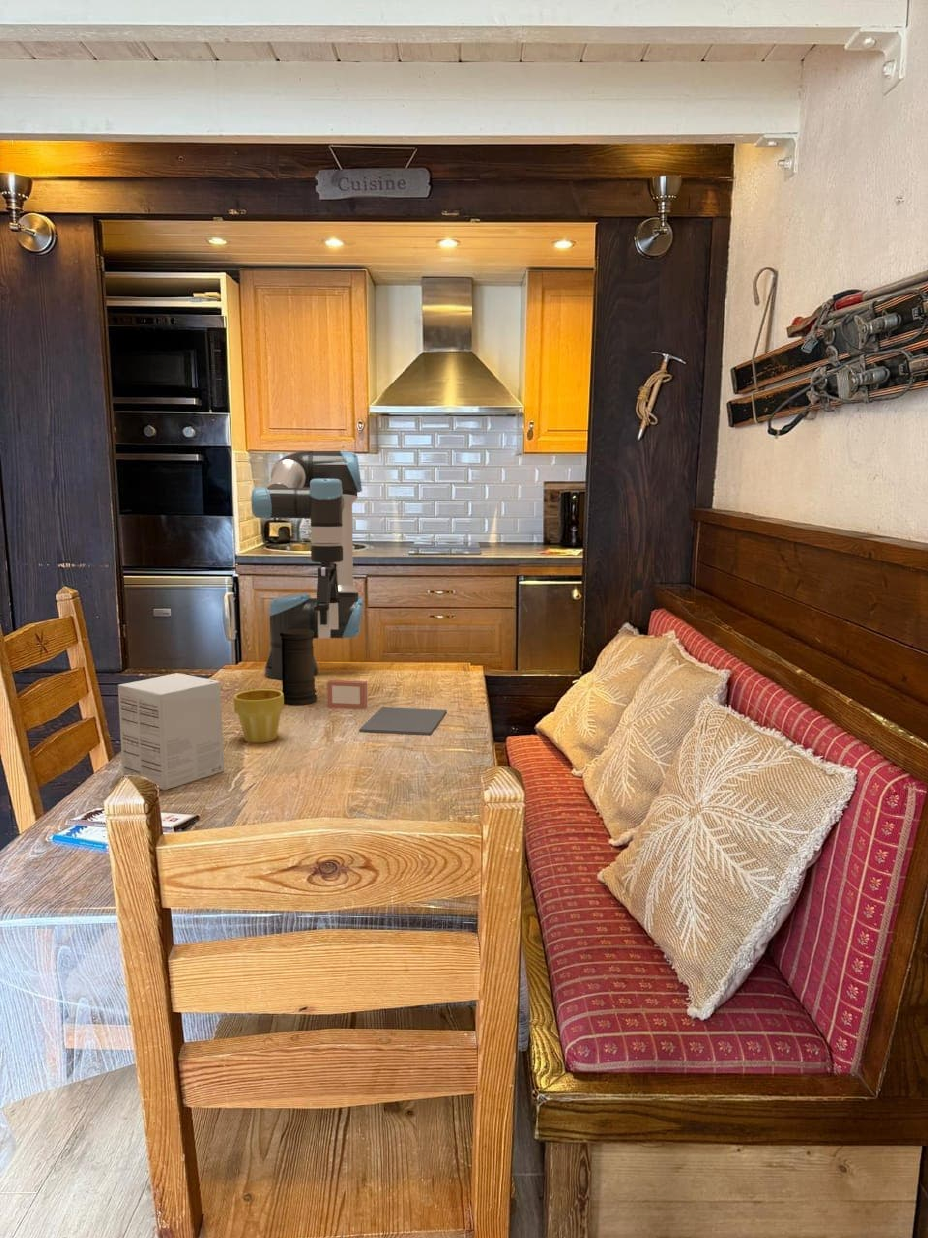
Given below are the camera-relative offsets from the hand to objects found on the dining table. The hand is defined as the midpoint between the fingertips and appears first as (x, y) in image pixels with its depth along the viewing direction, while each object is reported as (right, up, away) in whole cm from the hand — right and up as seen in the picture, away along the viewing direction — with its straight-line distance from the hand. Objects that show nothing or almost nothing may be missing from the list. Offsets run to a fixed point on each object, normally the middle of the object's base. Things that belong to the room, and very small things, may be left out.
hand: (328, 633), depth 200 cm
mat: (+19, -20, -8) cm, 29 cm away
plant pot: (-11, -22, -22) cm, 33 cm away
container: (-9, -18, +11) cm, 23 cm away
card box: (+4, -18, +6) cm, 20 cm away
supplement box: (-22, -26, -45) cm, 56 cm away
